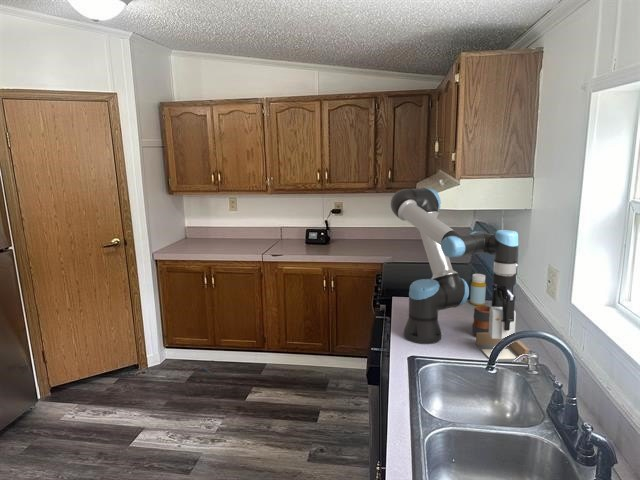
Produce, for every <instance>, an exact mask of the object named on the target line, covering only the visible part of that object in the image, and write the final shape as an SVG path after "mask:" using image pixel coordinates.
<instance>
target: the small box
mask: <svg viewBox="0 0 640 480" xmlns="http://www.w3.org/2000/svg"><path fill="white" fill-rule="evenodd" d="M489 307H490V315H489V334H490V336H491V338H492V339H503V338H501V327H502V321H501V320H503V310H502V307H491V306H489ZM516 317H517V313H516V310H514V322H510V334H509V335H511V334H513V333H515V334H516Z"/></svg>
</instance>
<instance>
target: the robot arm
mask: <svg viewBox="0 0 640 480" xmlns="http://www.w3.org/2000/svg"><path fill="white" fill-rule="evenodd" d="M441 203H442V201H441V197H440V194H439V193H438V192H437V191H436V190H435V189H433V188H429V187H420V188H403V189H399V190H397V191H396V192H395V193H394V194H393V196H392V197H391V199H390V208H391V211H392V213H393V214H394V215H395V216H396V217H397V218H398V219H400V220H401V221H406V222H408V223H409V224H411V225H412V226H413V227H414V228H416V229H417V230H418V231H419V233H420V237H421V241H422V244H423V247H424V251H425V253H426V256H427V261H428V263H429V266H430V271H431V274H432V277H431V278H426V279H425V278H422V279H417V280H414V281H413V282H411V284H410V285H409V291H408V298H409V299H408V319H407V321H406V324H405V327H404V329H403V337H404V338H405V339H406V340H407V341H410V342H412V343H417V344H424V345H430V344H437V343H439V342H440V341H441V340H442V337H443V336H442V333H443V332H442V331H441V330H442V329H441V327H440V323H439V317H438V315H439V311H442V310H447V309H452V308H458V307H460V306H463V305H464V304H465V303H467V301H468V298H469V295H470V290H469V289H470V288H469V284H468V283H467V281H466V280H465V279H464V278H461V277H460V275H459V272H457V271H455V270H454V269H453V266H452V264H451V260H450V258H459V257H465V256H471V255H478V254H488V255H492V256H493V268H492V271H493V272H494V273H493V275H492V282H493V284H492V296H491V306H490V307H502V310H503V320H501V321H502V327H501V338H505V337H507V336H509V334H510V322H514V311H515V304H516V303H515V300H516V294H512V287H513V286H515V285H516V281H517V276H516V275H517V267H518V264H517V262H518V260H517V259H518V253H519V251H518V250H519V234H518V233H519V232H518V231H515V230H507V229H499V230H496V231H495V234H493V233H487V232H485V231H472V232H471V233H469V234H461V233H459V232H458V231H456V230H454V229H453V228H451V227H450V226H448V225H447V224H446V223H444V222H442V221H441V220H440V219H438V216H439V215H440V213H439V210H440V208H441Z"/></svg>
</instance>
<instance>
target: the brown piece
mask: <svg viewBox="0 0 640 480" xmlns="http://www.w3.org/2000/svg"><path fill="white" fill-rule="evenodd" d="M500 340H501V339H492V338H491V336H490V334H489V332H480V333H476V337H475V345H476V346H477V348H478V349H479V350H480V351H481V352H482V353H483V355H485V357H486V358H487V359H488V358H489V355H490V353H491V350H492V349H493V347H494V346H495V345H496V344H497V343H498V342H499V341H500ZM527 353H529V354H530V348H528V347H527V346H526V345H525V344H524V343H522V342H521V341H520V340H519V341H516V342H514V343H512V344H510V345H509V346H507V347H506V348H505V349H504V350H503V351H502V353H501V354H500V355H499V357H498V360H497V363H496V364H499V363H498V362H512V361H513V360H514V359H515V358H516V357H517V356H519V355H522V354H527ZM526 361H527V359H526V358H523V360H521V362H526Z"/></svg>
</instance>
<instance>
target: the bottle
mask: <svg viewBox="0 0 640 480" xmlns="http://www.w3.org/2000/svg"><path fill="white" fill-rule="evenodd" d="M471 279H472V281H471V283H470V294H469V295H470V299H469V301H470V302H469V303H470V304H471V305H472V304H473V306H476V305H477V306H485V304H486V290H487V284H486V274H483V273H473V274H472V277H471Z"/></svg>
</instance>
